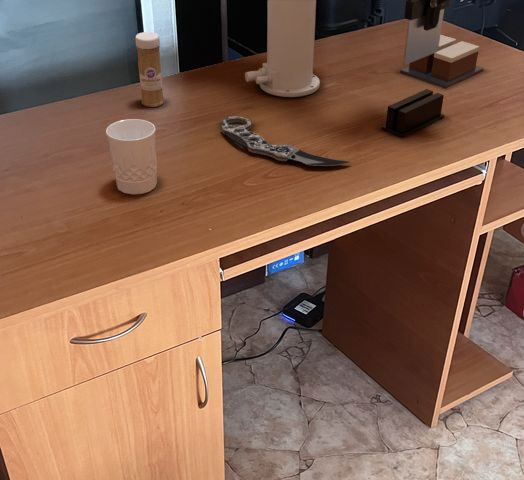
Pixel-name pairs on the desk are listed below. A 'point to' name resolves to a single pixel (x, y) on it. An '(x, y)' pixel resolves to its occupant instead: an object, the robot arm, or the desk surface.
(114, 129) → the white cup
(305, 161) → the knife
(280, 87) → the robot arm
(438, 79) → the cake
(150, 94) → the sprinkles bottle
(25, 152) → the desk surface
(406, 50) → the plate
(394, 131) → the stand
